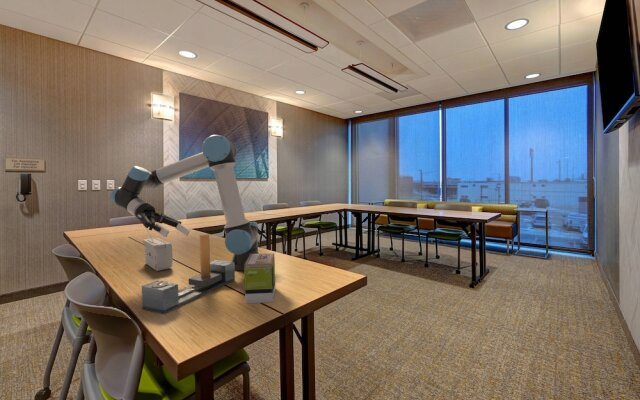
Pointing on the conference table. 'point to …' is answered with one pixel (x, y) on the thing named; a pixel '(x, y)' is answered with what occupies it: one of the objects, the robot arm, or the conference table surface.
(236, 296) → the conference table surface
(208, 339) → the conference table surface
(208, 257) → the carriage
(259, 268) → the tea box
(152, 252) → the stereo radio cassette player
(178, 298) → the rail
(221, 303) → the conference table surface
